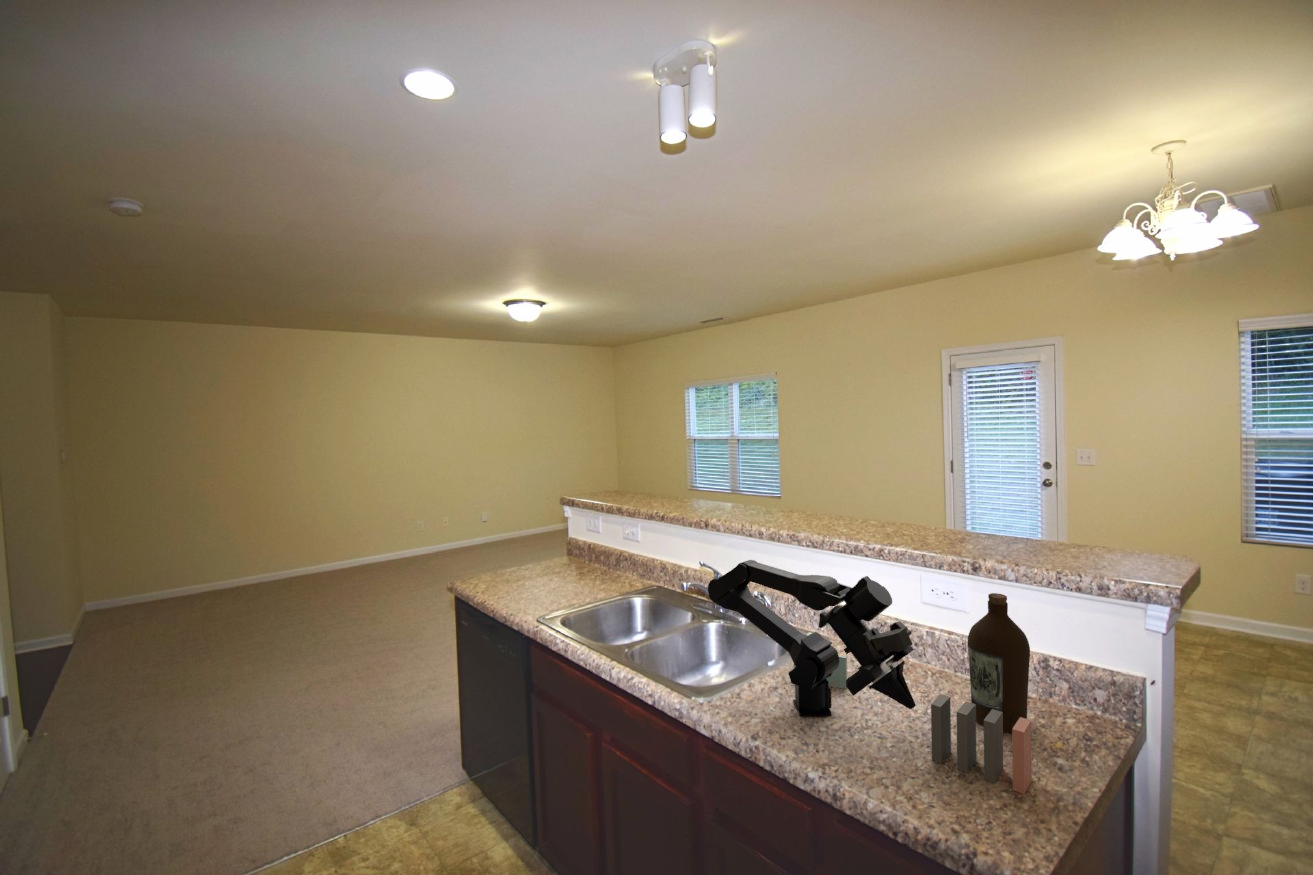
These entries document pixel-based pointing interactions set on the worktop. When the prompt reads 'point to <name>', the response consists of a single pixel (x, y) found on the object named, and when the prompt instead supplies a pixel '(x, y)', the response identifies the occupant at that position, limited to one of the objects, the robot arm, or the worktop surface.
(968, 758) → the domino
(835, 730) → the worktop surface
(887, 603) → the robot arm
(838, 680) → the right angle wall
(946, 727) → the domino
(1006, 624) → the olive oil
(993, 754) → the domino
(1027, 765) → the domino
